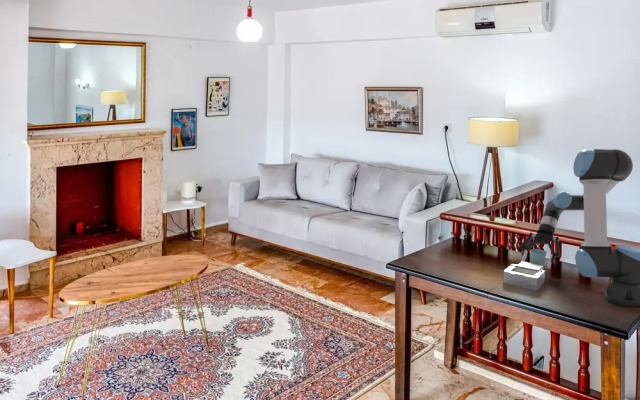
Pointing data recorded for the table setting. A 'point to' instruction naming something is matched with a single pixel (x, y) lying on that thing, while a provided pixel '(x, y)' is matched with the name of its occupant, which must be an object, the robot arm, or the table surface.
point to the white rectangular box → (523, 279)
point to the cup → (537, 256)
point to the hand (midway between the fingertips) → (535, 264)
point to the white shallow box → (528, 268)
